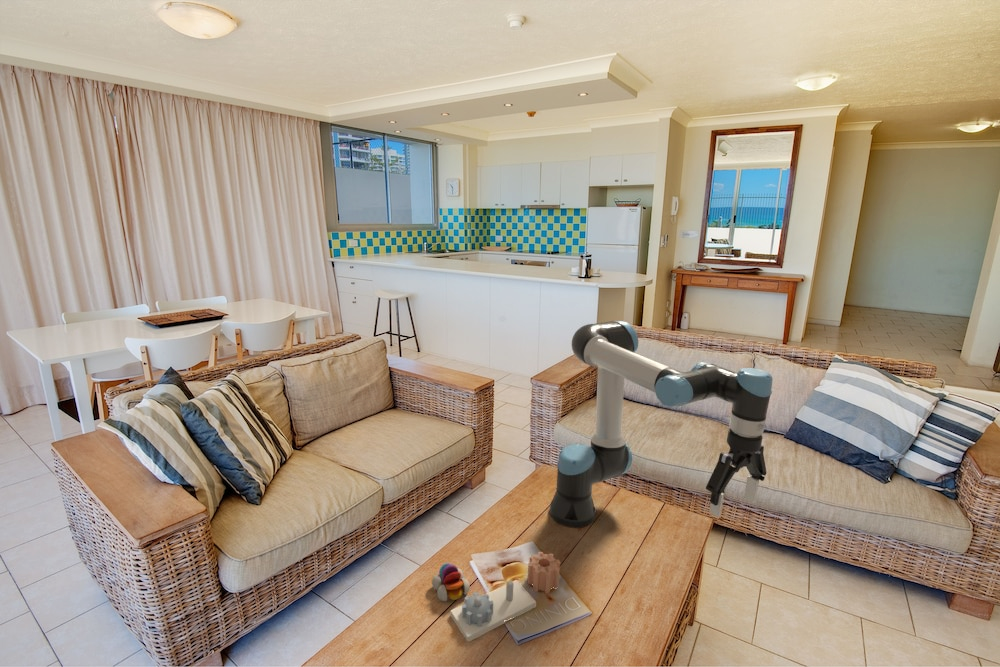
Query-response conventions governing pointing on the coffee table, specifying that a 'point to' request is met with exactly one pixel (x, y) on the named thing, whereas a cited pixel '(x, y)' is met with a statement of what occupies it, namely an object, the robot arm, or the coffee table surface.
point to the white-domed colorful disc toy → (450, 583)
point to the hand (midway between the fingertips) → (732, 507)
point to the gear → (543, 572)
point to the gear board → (491, 609)
